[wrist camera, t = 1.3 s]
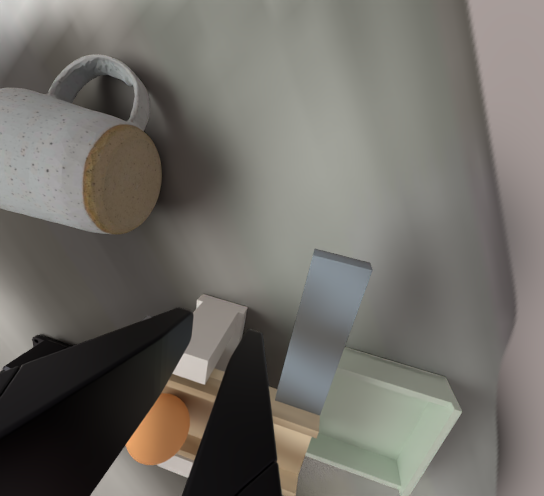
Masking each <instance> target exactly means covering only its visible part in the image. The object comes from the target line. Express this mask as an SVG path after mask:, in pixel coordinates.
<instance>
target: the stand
mask: <svg viewBox="0 0 544 496" xmlns="http://www.w3.org/2000/svg"><path fill="white" fill-rule="evenodd" d="M247 308H248V307H246V306H242V305H239V304H235V303H232V302H229V301H225V300H222V299H218V298H215V297H212V296H208V295H205V294H202V295H201V296H200V297H199V299H198V300H197V307H196V310H195V311H194V312H193V315H194V318H193V328H192V337H191V340H190V343H189V345H188V347H187V349H186V350H185V352H184V354H183V356H182V357H181V359H180V361H179V363H178V365H177V366H176V368H175V370H174V372H173V373H172V374H175V375H178V376H180V377H183V378H186V379H189V380H192V381H195V382H198V383H201V384H204V385H205V384H206V382H207V380H208V378H209V377H210V375H211V373H212V371H213V370H214V368H215V369H218V370H221V371H224V372H225V370H226V367H227V364H228V362H229V360H230V358H231V356H232V354H233V352H234V351H235V349H236V347H237V346H238V344H239V342H240V341H241V339H242V335H243V330H244V324H245V319H246V313H247ZM193 462H194V460H192V459H189V458H186V457H184V456H181V455H179V454H175V455H174V456H173V457H172V458H170V459H169V460H167V461H165V462H163V463H160V464H157V466H159V467H162V468H164V469H167V470H169V471H172V472H174V473H177V474H179V475H182V476H184V477H187V478H188V477H189V474H190V471H191V468H192V465H193Z"/></svg>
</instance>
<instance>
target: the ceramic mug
mask: <svg viewBox="0 0 544 496" xmlns="http://www.w3.org/2000/svg"><path fill="white" fill-rule="evenodd" d="M100 75H109V76H112V77H115V78H117V79H120V80H122V81H124V82H125V83H126V84H127V85H128V86H133V87H134V94H135V97H134V103H133V109H132V111H131V115H130V118H129V120H128V121H124V120H122V119H120V118H117V117H114V116H111V115H108V114H104V113H101V112H97V111H93V110H90V109H86V108H83V107H80V106H77V105H75V104H72V102H73V100H74V99H75V97H76V95H77V93H78V92H79V91H80V90H81V89H82V87H83V86H84V85H85V84H86V83H88V82H89V81H90V80H92V79H94V78H96V77H97V76H100ZM149 109H150V99H149V95H148V92H147V89H146V88H145V86H144V85H143V83H142V82H141V80H140V79H139V78H138V77H137V76H136V75H135V73H134V72H133V71H132V70H131V69H130V68H129V66H127V65H125V64H124V63H123V62H121V61H120V60H118V59H115V58H113V57H110V56H106V55H101V54H92V55H87V56H84V57H81V58H79V59H77V60H75V61H74V62H72V63H71V64H70V65H68V66H67V67H66V68H65V69H64V70H63V71H62V72H61V73H60V74H59V75H58V76H57V78H56V79H55V80H54V82H53V84H52V86H51V88H50V89H49V92H48V93H47V94H41V93H38V92H35V91H31V90H27V89H21V88H2V89H0V208H2V209H5V210H8V211H12V212H16V213H20V214H25V215H28V216H32V217H36V218H40V219H44V220H47V221H51V222H56V223H60V224H64V225H67V226H71V227H74V228H78V229H81V230H85V231H90V232H95V233H104V234H123V233H127V232H129V231H132V230H134V229H135V228H137V227H138V226H140V225H141V224H142V223H143V222H144V221H145V220H146V219H147V217H148V216H149V215H150V213H151V212H152V210H153V208H154V207H155V204H156V202H157V200H158V196H159V192H160V188H161V181H162V169H161V161H160V157H159V154H158V151H157V149H156V147H155V145H154V143H153V141H152V139H151V138H150V137H149V136H148V135H147V134H146V133H145V132H144V130H145V127H146V125H147V123H148V120H149Z"/></svg>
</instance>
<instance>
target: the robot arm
mask: <svg viewBox="0 0 544 496" xmlns="http://www.w3.org/2000/svg"><path fill="white" fill-rule="evenodd" d="M193 318H194V315H193V312H192V311H190V310H187V309H184V308H175V309H173V310H170V311H167V312H165V313H162V314H159V315H156V316H154V317H151V318H148V319H145V320H143V321H140V322H137V323H134V324H132V325H129V326H126V327H124V328H121V329H118V330H115V331H113V332H110V333H107V334H104V335H102V336H99V337H96V338H94V339H91V340H88V341H85V342H83V343H80V344H77V345H74V346H69V345H66V344H64V343H61V342H58V341H55V340H52V339H49V338H46V337H43V336H41V335H36V336H35V337H33V338H32V341H33V348H32V349H30V350H29V351H27V352H26V353H24V354H22V355H21V356H19V357H18V358H16V359H15V360H13V361H12V362H10V363H9V364H7V365H6V366H4V367H3V370H2V371H1V372H0V496H90V495H91V493H92V492H93V490H94V489H95V488H96V486H97V485H98V483H99V482H100V481H101V479H102V478H103V476H104V475H105V473H106V472H107V471H108V469H109V468H110V466H111V465H112V463H113V462H114V461H115V459H116V458H117V456H118V455H119V453H120V452H121V451H122V449H123V448H124V446H125V445H126V444H127V442H128V441H129V439H130V438H131V436H132V435H133V434H134V432H135V431H136V429H137V428H138V426H139V425H140V424H141V422H142V421H143V419H144V418H145V417H146V415H147V414H148V412H149V411H150V409H151V408H152V407H153V405H154V404H155V402H156V401H157V399H158V398H159V396H160V394H161V393H162V391H163V389H164V388H165V386H166V384H167V382H168V381H169V379H170V377H171V375H172V373H173V372H174V370H175V368H176V366H177V365H178V363H179V361H180V359H181V357H182V356H183V354H184V352H185V350H186V349H187V347H188V345H189V343H190V340H191V337H192V328H193ZM182 496H282V489H281V481H280V473H279V465H278V463H277V450H276V441H275V433H274V425H273V416H272V408H271V400H270V391H269V383H268V374H267V366H266V358H265V349H264V341H263V334H262V333H261V332H259V331H255V330H252V329H248V330H247V331H246V332H245V334H244V336H243V337H242V339H241V341H240V342H239V344H238V346H237V347H236V349H235V351H234V352H233V354H232V356H231V358H230V360H229V362H228V364H227V367H226V370H225V373H224V376H223V379H222V381H221V384H220V387H219V390H218V393H217V396H216V399H215V402H214V405H213V407H212V410H211V413H210V416H209V419H208V422H207V425H206V428H205V430H204V433H203V436H202V439H201V442H200V445H199V448H198V451H197V453H196V456H195V459H194V462H193V465H192V468H191V471H190V474H189V477H188V479H187V482H186V485H185V488H184V491H183V494H182Z"/></svg>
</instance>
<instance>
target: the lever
mask: <svg viewBox="0 0 544 496" xmlns="http://www.w3.org/2000/svg"><path fill="white" fill-rule="evenodd" d="M371 273H372V267H371V264H370V263H369V262H365V261H361V260H357V259H353V258H349V257H345V256H341V255H337V254H334V253H330V252H326V251H322V250H318V249H315V250H314V253H313V257H312V261H311V265H310V269H309V272H308V276H307V280H306V284H305V287H304V291H303V295H302V299H301V302H300V306H299V310H298V314H297V318H296V321H295V325H294V329H293V333H292V336H291V340H290V344H289V348H288V351H287V355H286V359H285V363H284V366H283V370H282V374H281V378H280V382H279V385H278V389H275V388H272V387H269V391H270V400H271V408H272V416H273V425H274V433H275V441H276V450H277V463H278V465H279V473H280V481H281V489H282V495H285V496H295V495H296V488H297V480H298V474H299V471H300V468H301V466H302V463H303V460H304V457H305V454H306V452H307V449H308V446H309V443H310V441H311V438H312V437H314V438H317V436H318V433H319V422H320V414H321V411H322V409H323V406H324V403H325V400H326V397H327V395H328V392H329V389H330V386H331V384H332V381H333V378H334V375H335V373H336V370H337V367H338V364H339V362H340V359H341V356H342V353H343V350H344V348H345V345H346V342H347V339H348V337H349V334H350V331H351V328H352V326H353V323H354V320H355V317H356V315H357V312H358V309H359V306H360V303H361V301H362V298H363V295H364V292H365V290H366V287H367V284H368V281H369V279H370V276H371ZM151 317H152V316H146V317H145V318H144V319H143V320H145V319H148V318H151ZM143 320H142V321H143ZM224 373H225V372H224V371H221V370H218V369H215V368H214V370H213V371H212V373H211V375H210V377H209V378H208V380H207V382H206V384H205V385H204V384H201V383H198V382H195V381H192V380H189V379H186V378H183V377H180V376H178V375H175V374H172V375H171V377H170V379H169V381H168V382H167V384H166V386H165V388H164V389H163V391H162V393H167V394H172V395H175V396H177V397H178V398H180V399H181V400H182V401H183V402H184V403H185V405H186V407H187V409H188V412H189V416H190V427H189V432H188V435H187V438H186V440H185V442H184V444H183V446H182V447H181V448H180V450H179V451H178V452H177V453H176V454H179V455H181V456H184V457H186V458H189V459H192V460H194V459H195V456H196V453H197V451H198V448H199V445H200V442H201V439H202V436H203V433H204V430H205V428H206V425H207V422H208V419H209V416H210V413H211V410H212V407H213V405H214V402H215V399H216V396H217V393H218V390H219V387H220V384H221V381H222V379H223V376H224Z"/></svg>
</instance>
